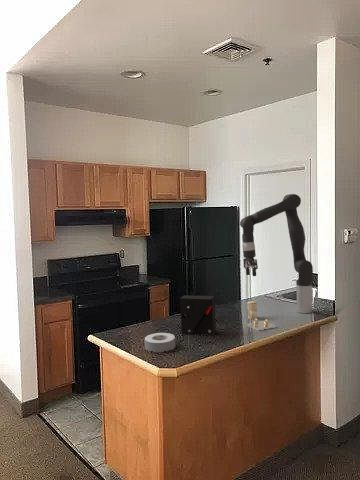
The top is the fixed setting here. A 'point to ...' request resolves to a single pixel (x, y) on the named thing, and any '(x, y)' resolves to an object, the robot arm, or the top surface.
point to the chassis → (261, 325)
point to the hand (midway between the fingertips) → (251, 275)
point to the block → (252, 310)
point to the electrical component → (198, 315)
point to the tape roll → (160, 342)
